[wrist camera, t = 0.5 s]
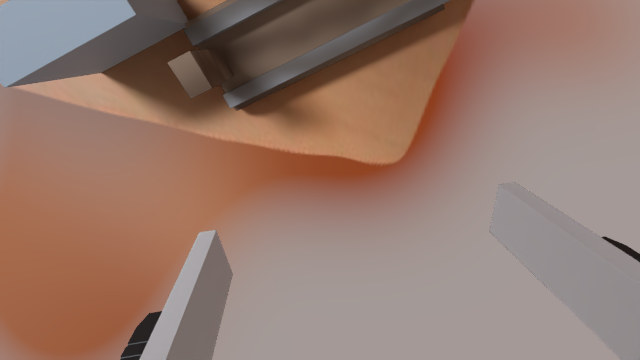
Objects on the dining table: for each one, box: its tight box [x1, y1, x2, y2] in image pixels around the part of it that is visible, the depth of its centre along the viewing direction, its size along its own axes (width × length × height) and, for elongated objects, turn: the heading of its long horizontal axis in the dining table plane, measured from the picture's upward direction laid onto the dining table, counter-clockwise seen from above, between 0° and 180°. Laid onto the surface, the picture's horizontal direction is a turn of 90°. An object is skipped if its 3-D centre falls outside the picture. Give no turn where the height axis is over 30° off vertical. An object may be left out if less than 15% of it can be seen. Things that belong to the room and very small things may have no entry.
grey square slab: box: [0, 0, 188, 88], centre depth 25 cm, size 4×12×12 cm, turn 114°
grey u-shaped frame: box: [168, 0, 450, 111], centre depth 26 cm, size 10×26×12 cm, turn 114°
